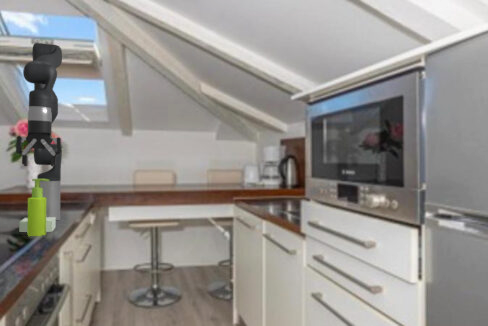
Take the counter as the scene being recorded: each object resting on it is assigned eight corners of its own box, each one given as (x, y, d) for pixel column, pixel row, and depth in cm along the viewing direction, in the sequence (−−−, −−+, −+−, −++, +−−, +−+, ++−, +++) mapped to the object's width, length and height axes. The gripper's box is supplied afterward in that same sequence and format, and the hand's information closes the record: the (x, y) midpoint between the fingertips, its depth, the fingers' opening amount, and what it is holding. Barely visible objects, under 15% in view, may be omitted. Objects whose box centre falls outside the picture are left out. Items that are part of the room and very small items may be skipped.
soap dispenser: (43, 236, 141) (44, 179, 141) (23, 236, 141) (24, 178, 141) (51, 233, 147) (52, 178, 147) (32, 233, 147) (33, 178, 147)
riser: (24, 228, 157) (25, 217, 157) (55, 227, 160) (55, 217, 160) (19, 232, 147) (19, 221, 147) (51, 231, 151) (52, 220, 151)
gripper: (63, 122, 149) (62, 166, 149) (19, 120, 145) (18, 165, 145) (60, 120, 142) (59, 166, 142) (14, 118, 138) (14, 166, 138)
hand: (39, 166), depth 144 cm, fingers open, 8 cm apart
